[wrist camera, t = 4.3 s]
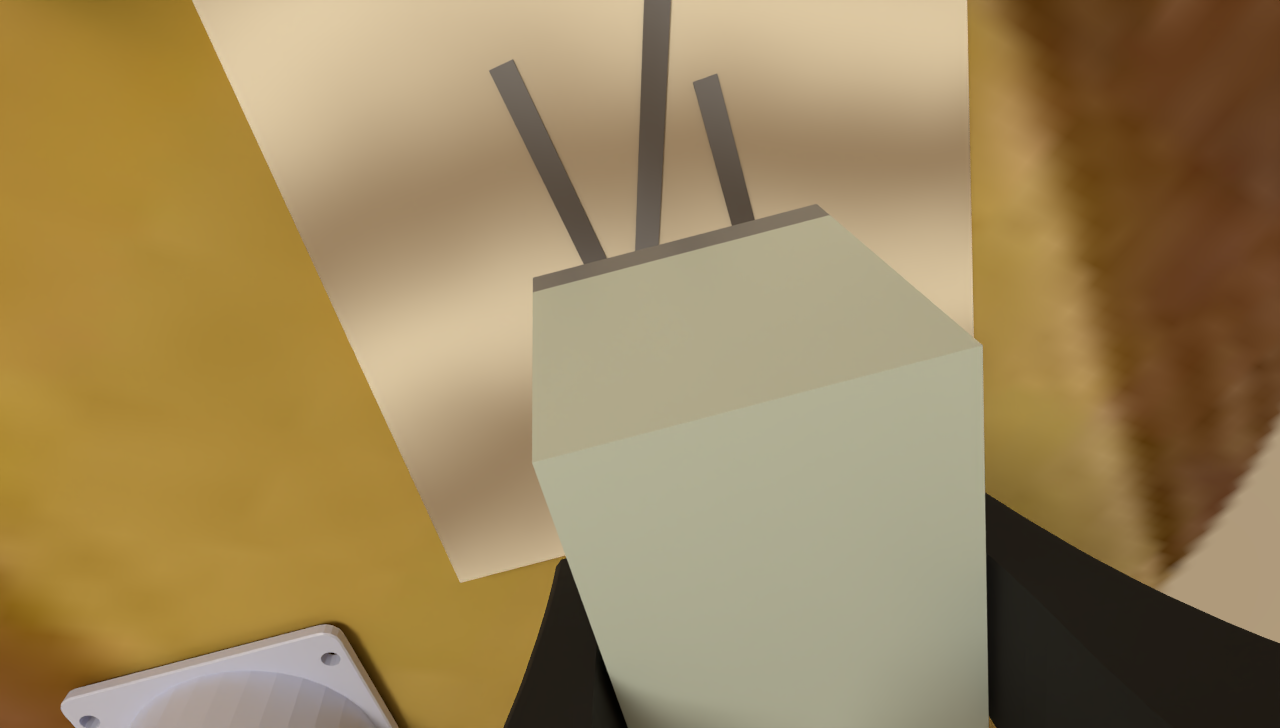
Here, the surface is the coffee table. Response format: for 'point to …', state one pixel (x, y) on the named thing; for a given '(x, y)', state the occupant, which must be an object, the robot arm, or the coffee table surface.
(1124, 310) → the coffee table surface
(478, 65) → the birch board
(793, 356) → the block
